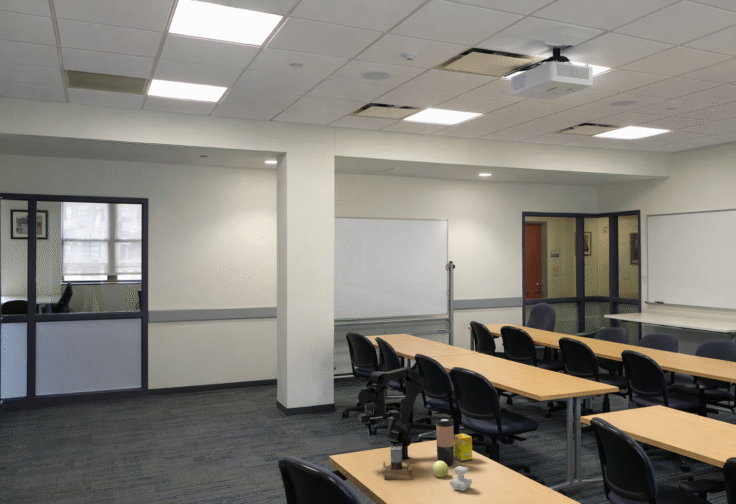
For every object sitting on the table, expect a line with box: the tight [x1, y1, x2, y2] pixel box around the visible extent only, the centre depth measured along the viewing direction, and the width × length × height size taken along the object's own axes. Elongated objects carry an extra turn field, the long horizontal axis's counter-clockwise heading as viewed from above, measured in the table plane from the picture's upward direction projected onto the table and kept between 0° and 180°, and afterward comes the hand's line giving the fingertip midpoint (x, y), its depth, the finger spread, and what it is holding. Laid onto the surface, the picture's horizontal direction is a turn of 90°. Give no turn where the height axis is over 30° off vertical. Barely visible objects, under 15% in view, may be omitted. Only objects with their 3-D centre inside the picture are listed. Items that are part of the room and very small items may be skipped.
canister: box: [389, 444, 403, 470], centre depth 253 cm, size 5×5×10 cm
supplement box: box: [454, 433, 473, 463], centre depth 270 cm, size 6×6×11 cm
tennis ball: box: [431, 460, 449, 478], centre depth 250 cm, size 6×7×7 cm
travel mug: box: [435, 416, 455, 468], centre depth 264 cm, size 8×8×20 cm
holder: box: [382, 460, 412, 481], centre depth 253 cm, size 11×11×4 cm
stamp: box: [449, 465, 473, 492], centre depth 235 cm, size 9×7×8 cm
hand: (379, 435), depth 265 cm, fingers open, 9 cm apart
